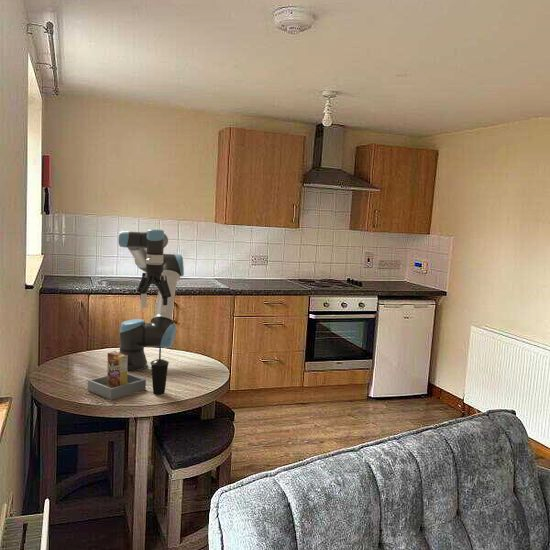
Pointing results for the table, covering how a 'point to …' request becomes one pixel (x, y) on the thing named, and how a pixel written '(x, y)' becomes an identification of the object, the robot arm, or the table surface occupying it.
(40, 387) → the table surface
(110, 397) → the tray
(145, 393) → the table surface
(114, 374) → the candy box
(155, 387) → the drinking cup
